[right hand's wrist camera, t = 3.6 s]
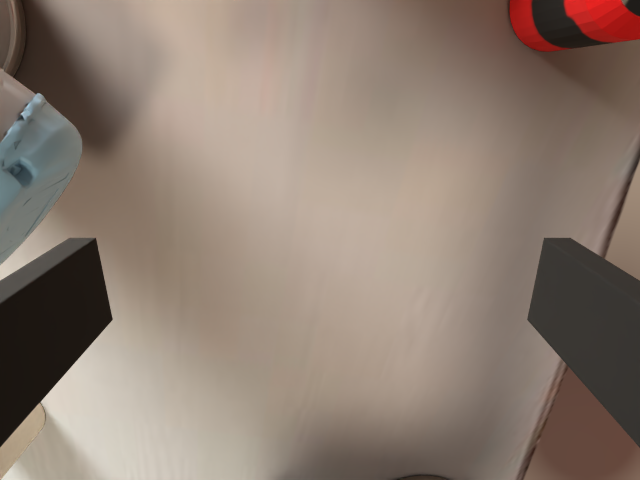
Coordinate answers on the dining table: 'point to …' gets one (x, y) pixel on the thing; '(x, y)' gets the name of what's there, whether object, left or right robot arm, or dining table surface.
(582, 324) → the right robot arm
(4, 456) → the jar
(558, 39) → the soda can
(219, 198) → the dining table surface
